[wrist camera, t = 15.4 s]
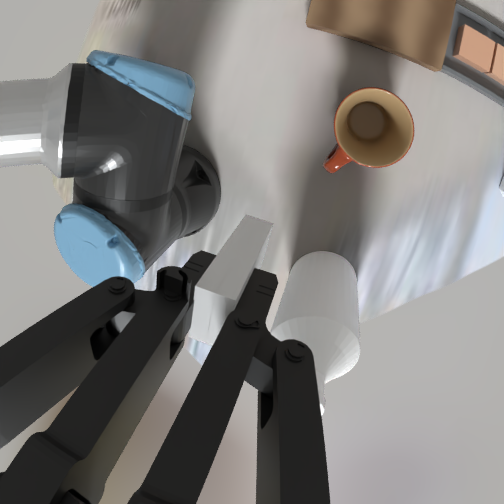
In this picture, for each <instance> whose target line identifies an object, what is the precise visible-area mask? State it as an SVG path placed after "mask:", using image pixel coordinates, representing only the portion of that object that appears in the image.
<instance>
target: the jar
mask: <svg viewBox="0 0 504 504" xmlns="http://www.w3.org/2000/svg"><path fill="white" fill-rule="evenodd" d="M499 190H500V191H501V193H502V195H503V197H504V176H503V179H502V182H501V185H500V187H499Z"/></svg>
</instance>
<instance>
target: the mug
mask: <svg viewBox="0 0 504 504" xmlns="http://www.w3.org/2000/svg"><path fill="white" fill-rule="evenodd" d="M334 132H335V137H336V141H337V145H336V146H335V147H334V149H333V150H332V151H331V152H330V153H329V154H328V155H327V157H326V158H325V160H324V161H323V167H324V168H325V169H326V170H327V171H328V172H329V173H334V172H336V171H338V170H339V169H340V168H341V167H342V166H344V165H345V164H347V163H349V162H351V161H354V162H356V163H358V164H360V165H363V166H367V167H373V168H380V167H386V166H390V165H392V164H394V163H396V162H398V161H399V160H400V159H402V158H403V157H404V156H405V155H406V153H407V152H408V150H409V149H410V147H411V145H412V142H413V138H414V122H413V118H412V115H411V113H410V111H409V109H408V107H407V106H406V105H405V103H404V102H403V101H402V100H401V99H400V98H399V97H398V96H396V95H395V94H393V93H391V92H390V91H387V90H385V89H381V88H376V87H367V88H362V89H358V90H356V91H354V92H352V93H350V94H349V95H348V96H346V97H345V98H344V99H343V100H342V102H341V103H340V105H339V106H338V108H337V111H336V114H335V118H334Z"/></svg>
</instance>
